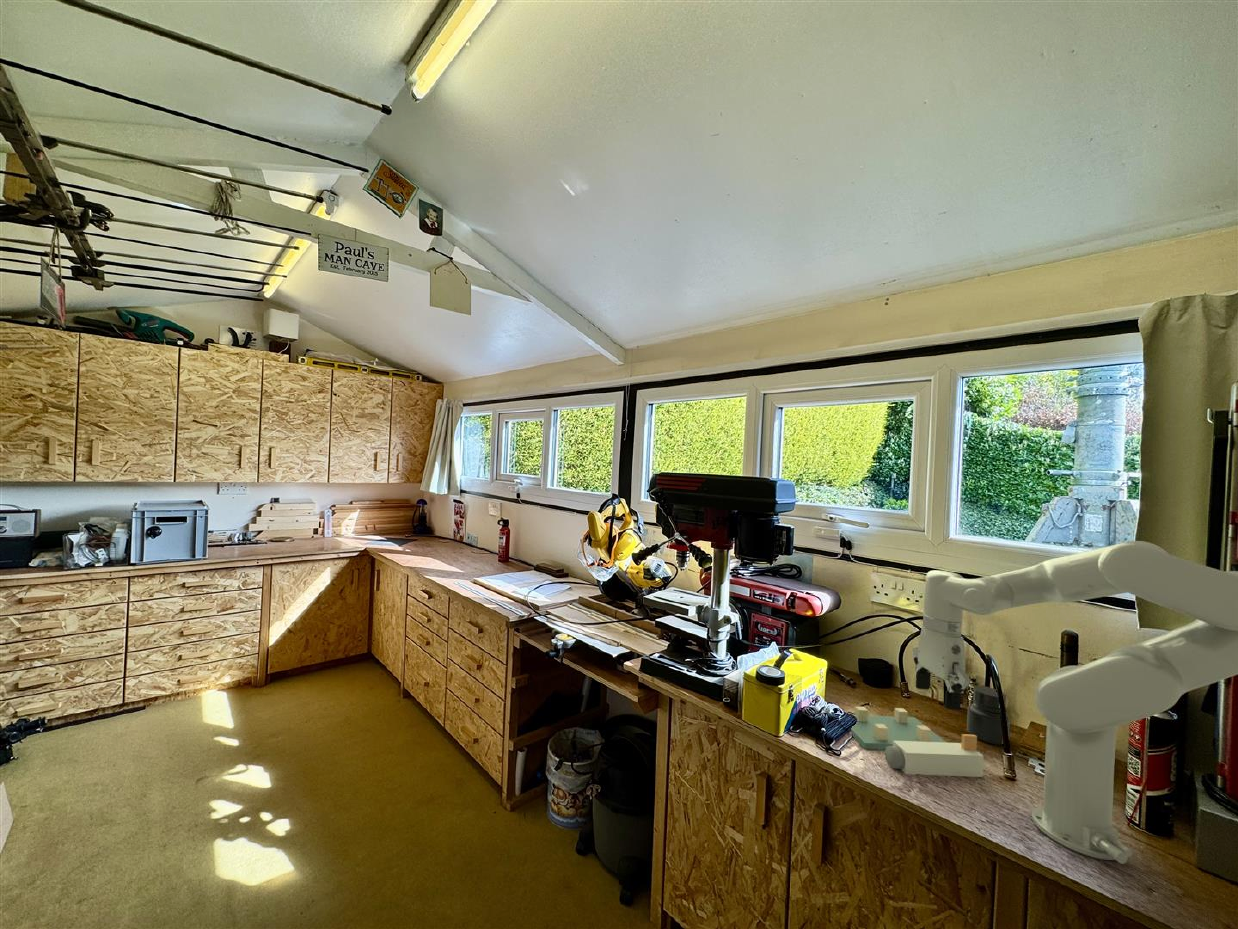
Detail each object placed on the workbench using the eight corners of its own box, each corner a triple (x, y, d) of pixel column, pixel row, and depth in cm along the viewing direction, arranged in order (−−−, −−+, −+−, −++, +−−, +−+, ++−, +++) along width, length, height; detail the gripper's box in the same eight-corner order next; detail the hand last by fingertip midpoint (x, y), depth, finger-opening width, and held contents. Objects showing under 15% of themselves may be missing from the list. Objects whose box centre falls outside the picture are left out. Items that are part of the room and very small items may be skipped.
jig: (951, 752, 119) (952, 733, 119) (864, 749, 118) (865, 730, 118) (914, 722, 133) (914, 706, 133) (836, 719, 132) (836, 703, 132)
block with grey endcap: (982, 778, 109) (984, 741, 109) (896, 775, 108) (898, 738, 109) (965, 764, 114) (967, 729, 114) (883, 761, 113) (885, 726, 114)
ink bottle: (1019, 745, 124) (1021, 698, 125) (995, 749, 121) (998, 701, 122) (979, 725, 133) (981, 682, 134) (957, 729, 131) (959, 685, 131)
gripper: (987, 639, 104) (981, 718, 104) (931, 614, 121) (926, 682, 121) (953, 637, 103) (948, 717, 103) (902, 612, 121) (897, 680, 121)
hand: (936, 698), depth 112 cm, fingers open, 9 cm apart
